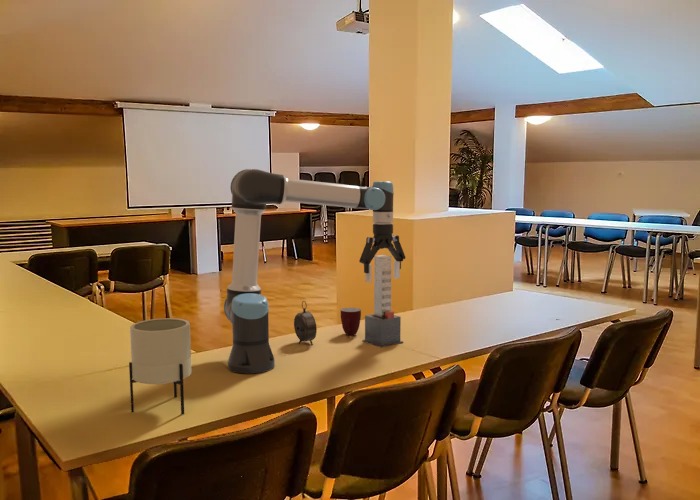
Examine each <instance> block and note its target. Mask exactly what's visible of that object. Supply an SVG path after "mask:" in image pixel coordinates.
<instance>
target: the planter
mask: <svg viewBox="0 0 700 500" xmlns="http://www.w3.org/2000/svg"><path fill="white" fill-rule="evenodd" d="M129 333H130V335H129V336H130V337H129V338H130V353H131V355H130V357H131V358H130V359H131V362H128V365H129V366H128V367H129V368H128V369H129V372H128V374H129V393H130V410H131V411H130V413H134V412H135V407H134V406H135V405H134V404H135V403H134V385H133V384H134V383H139V384H144V385H163V384H164V385H165V384H170V383H171V384H172V383H173V396H174V398H177V397H178V387H177V386H178V385H179V389H180V390H179V391H180V394H179V395H180V415H182V414H183V415H185V395H184V394H185V392H184V391H185V390H184V380H185V379H186V378H188V377H190V375H192V348H191V345H192V344H191V324H190V321H189V320H186V319H183V318H177V317H176V318H175V317H173V318H172V317H171V318H170V317H169V318H168V317H167V318H166V317H165V318H153V319H145V320H140V321H137V322H135V323H133V324H131V325H130V326H129Z"/></svg>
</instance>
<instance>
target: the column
mask: <svg viewBox="0 0 700 500" xmlns="http://www.w3.org/2000/svg"><path fill="white" fill-rule="evenodd" d="M373 260H374V265H373V267H374V268H373V269H374V270H373V271H374V276H373V277H374V280H373V281H374V287H373V288H374V290H373V293H374V295H373V296H374V299H373V301H374V305H373V306H374V307H373V310H374V311H373V314H374V317H377V318H380V319H383V318H385V312H387V311H392V255H387V254H386V255H385V254H379V255H375V256H374V258H373Z"/></svg>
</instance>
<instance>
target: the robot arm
mask: <svg viewBox="0 0 700 500" xmlns="http://www.w3.org/2000/svg"><path fill="white" fill-rule="evenodd" d="M230 192H231V195H232V196H231V209H232V210H233V211H234V213H235V221H234V239H233V258H232V274H231V276H232V277H231V283H230V284H228V286H227V288H226V298H225V301H224V303H223V310H224V311H223V312H224V314H225V316H226V318H227V320H228V321H229V322H230V323H231V324H232V325H231V326H232V348H231V350H230V352H229V356H228V360H227V369H228V370H229V371H230V372H232V373H237V374H245V375H246V374H247V375H248V374H249V375H250V374H259V373H265V372H267V371H270V370H272V369H274V368H275V365H276V364H275V356H274V353H273V352H272V348H271V345H270V339H269V338H270V337H269V336H270V333H269V330H270V329H269V328H270V327H269V310H270V307H269V301H268V299H267V297H266V296H264V295H262V287H261V286H260V285H259V284H258V273H259V272H258V271H259V256H260V255H259V254H260V240H261V239H260V238H261V237H260V236H261V225H262V224H261V223H262V221H261V219H262V215H263V213H265V211H266V210H267V205H271V204H273V205H275V204H276V205H282V204H284V202H285V203H286V202H287V203H298V204H307V205H320V206H332V207H340V208H341V207H343V208H345V209H362V210H369V211H372V223H373V224H372V235H373V236H372V237H371V236H370V237H369V236H367V237H366V241H365V245H364V248H363V251H362V253H361V254H360V255H361V256H360V258H359V260H358V261H359V263H361V264H363V273H364V275H365V277H364V278H365V282H367V283H372V280H373V278H372V273H373V272H372V269H373V268H372V264H371V262H372V260H374V256H376V255H377V253H378V251H380V250H383V249H387V250H388V251H389V253H390V255H391V257H392V258H393V259H394V260H393V279H396V280H397V279H399V280H400V279H401V275H400V274H401V272H400V271H401V270H402V262H403V261H404V260H406V255H405V253H404V250H403V247H402V244H401V242H400V236H399V235H395V234H393V233H394V224H393V222H394V184H393V182H391V181H373V183H372V185H371V186H360V185H351V184H350V185H349V184H343V183H334V182H326V181H325V182H324V181H322V182H321V181H314V180H306V179H295V178H287V177H286V176H285V175H284V174H279V173H278V174H277V173H274V172H269V171H265V170H261V169H257V168H253V169H251V168H249V169H247V168H246V169H242V170H240V171H238V172H237V173H236V174H235V175H234V176H233V178H232V180H231V182H230Z"/></svg>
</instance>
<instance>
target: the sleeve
mask: <svg viewBox="0 0 700 500" xmlns="http://www.w3.org/2000/svg"><path fill="white" fill-rule="evenodd" d="M401 318H402V317H401V316H400V315H395V311H393V310H391V311H387V312H385V318H383V319H380V318H377V317H374V313H372V314H366V315H365V316H364V339H362V340H361V342H363V343H365V344H369V345H372V346H374V347H378V348H385V347H389V346H394V345H399V344H404V341H403V340H401V320H402V319H401Z"/></svg>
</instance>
